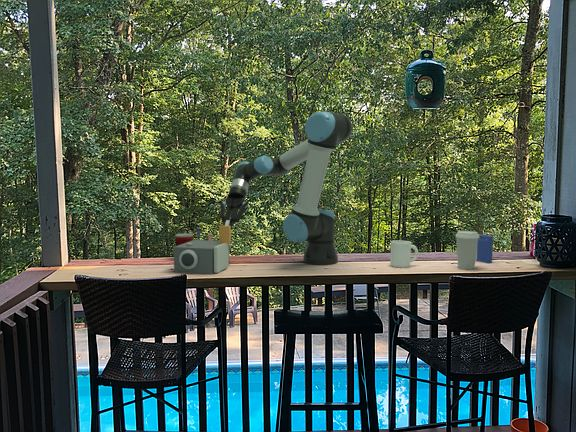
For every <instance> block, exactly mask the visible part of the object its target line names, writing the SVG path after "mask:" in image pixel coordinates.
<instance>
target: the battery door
mask: <svg viewBox="0 0 576 432" xmlns="http://www.w3.org/2000/svg"><path fill="white" fill-rule="evenodd" d="M218 231H219V232H218V241H219V243H223V244H220V245H218V246H215V247H214V273H213V274H215V273H216V274H218V273H220V272H221V271H223V270H225V269H227V268H229V266H230V244H231V243H232V229H231V226H223V225H219V226H218Z"/></svg>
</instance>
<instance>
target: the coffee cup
mask: <svg viewBox="0 0 576 432" xmlns="http://www.w3.org/2000/svg"><path fill="white" fill-rule="evenodd" d="M478 234H479V232H477V231H473V230H458V231H457V232H456V234H455V239H456V256H457V258H456V259H457V268H458V269H461V270H474V269H475V268H476V267H475V266H476V261H475V259H476V252H477V244H478V238H479V235H480V234H479V235H478Z"/></svg>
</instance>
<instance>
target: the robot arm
mask: <svg viewBox="0 0 576 432" xmlns="http://www.w3.org/2000/svg"><path fill="white" fill-rule="evenodd" d="M304 131H305V134H306V137H307V139H305V140H304V141H302V142H301V143H299V144H298V145H296V146H294V147H292V148H291V149H289V150H287V151H285V152H284V153H282V154H281V155H279V156H278V157H275V158H271V157H269V156H268V155H261V156H258V157H257V158H256V159H253V160H252V161H240V162H239V163H238V164H237V167H236V168H235V172H234V176H233V178H232V181H231V182H232V183H231V185H230V188H229V191H228V195H227V198H225V200H224V201H220V202H219V205H220V220H221V222H222V223H223V224H222V226H231V230H232V229H233V228H234V224H235V223H237V224H238V223H239V222H240V220H241V219H242V217H243V215H244V213H245V212H246V210H247V209H249V207H250V206H249V203H248V202H247V201H246V202H245V200H246V197H247V193H248V191H249V190H248V189H249V187H250V184H251V181H254V180H256V179H257V178H260V177H264V176H265V177H266V176H279V177H280V176H285V175H287V174H288V173H289V172H290V170H292V169H293V168H294V167H296V166H298V165H300V164H302V163H304V162H305V161H306V163H305V167H304V172H303V176H302V179H301V180H302V181H301V184H300V189H299V193H298V198H297V202H296V204H295V205H293V206H292V207H291V212H290V214H288V215H287V216H285V218H284V219H283V223H282V230H283V233H284V234H285V236H286V238H287V239H288V240H289V241H291V242H293V243H304V242H307V244H306V247H305V250H304V252H303V257H302V258H303V263H305V264H308V265H322V266H324V265H334V264H337V263H338V262H339V257H338V253H337V249H336V246H335V221H336V220H335V219H336V218H335V212H334V211H333V210H331V209H320V208H319V209H318V206H319V202H320V199H321V196H322V195H321V194H322V190H323V186H324V181H325V178H326V173H327V170H328V167H329V162H330V157H331V153H332V152H333V151H335V150H336V148H337V146H339V145H341V144H343V143H344V142H346V141H347V140H348V139H349V138H350V137H351V135H352V134H353V124H352V121H351V119H350V118H349V117H348V116H347V115H345V114H343V113H339V112H331V111H330V112H329V111H317V112H314V113H313V114H311V115H310V116H309V117H308V119H306V122H305V127H304ZM226 206H227V209H226Z"/></svg>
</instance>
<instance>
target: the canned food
mask: <svg viewBox="0 0 576 432" xmlns="http://www.w3.org/2000/svg"><path fill="white" fill-rule="evenodd" d="M192 240H194V234H193V233H176V234H175V237H174V242H175V243H174V245H175V246H178V245H181V244H184V243H187V242H190V241H192ZM175 246H174V247H175Z"/></svg>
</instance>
